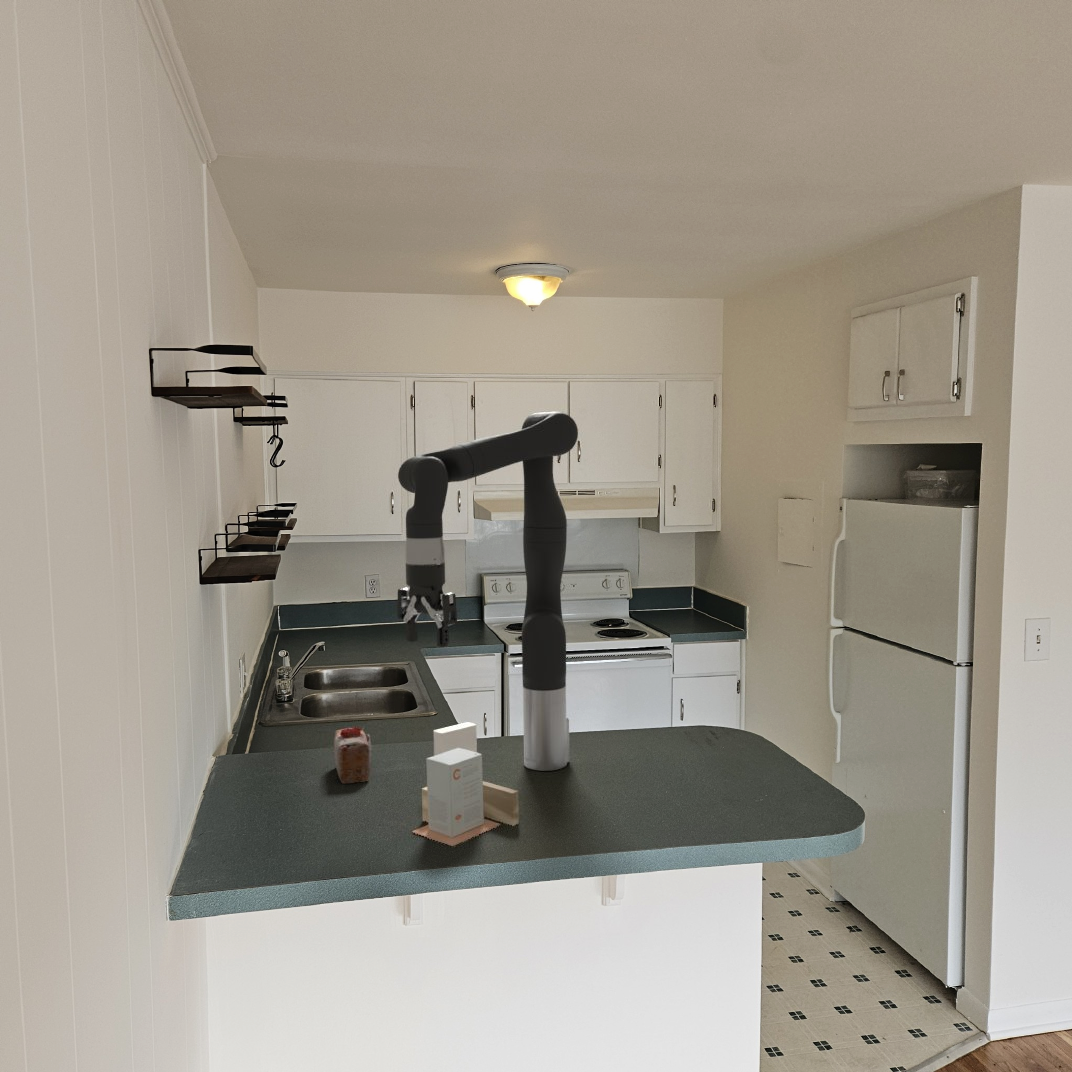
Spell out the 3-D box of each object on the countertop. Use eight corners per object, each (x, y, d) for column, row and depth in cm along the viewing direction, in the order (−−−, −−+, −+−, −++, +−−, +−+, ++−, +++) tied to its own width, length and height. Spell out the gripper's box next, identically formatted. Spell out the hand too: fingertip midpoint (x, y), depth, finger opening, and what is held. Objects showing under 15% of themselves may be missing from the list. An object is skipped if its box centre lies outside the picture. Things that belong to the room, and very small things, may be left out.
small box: (460, 816, 171) (458, 746, 170) (484, 824, 167) (483, 753, 166) (427, 829, 165) (425, 757, 164) (451, 838, 161) (450, 764, 160)
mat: (460, 812, 173) (460, 811, 173) (500, 825, 167) (500, 823, 167) (412, 832, 164) (412, 831, 164) (452, 847, 158) (452, 845, 158)
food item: (332, 765, 202) (330, 721, 201) (369, 761, 205) (367, 717, 204) (337, 786, 189) (335, 738, 188) (377, 781, 192) (375, 734, 191)
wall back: (463, 806, 177) (462, 775, 176) (518, 823, 168) (518, 791, 167) (457, 808, 176) (456, 777, 175) (513, 826, 167) (512, 793, 166)
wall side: (457, 806, 177) (456, 775, 176) (463, 808, 176) (462, 777, 175) (422, 820, 170) (421, 788, 169) (428, 822, 169) (427, 790, 168)
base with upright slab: (451, 797, 182) (449, 736, 181) (425, 785, 188) (423, 727, 187) (487, 786, 188) (486, 727, 187) (461, 775, 194) (459, 718, 193)
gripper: (385, 560, 181) (388, 643, 182) (436, 564, 172) (439, 651, 173) (414, 557, 186) (416, 637, 188) (465, 561, 177) (467, 645, 179)
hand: (427, 643), depth 180 cm, fingers open, 8 cm apart
